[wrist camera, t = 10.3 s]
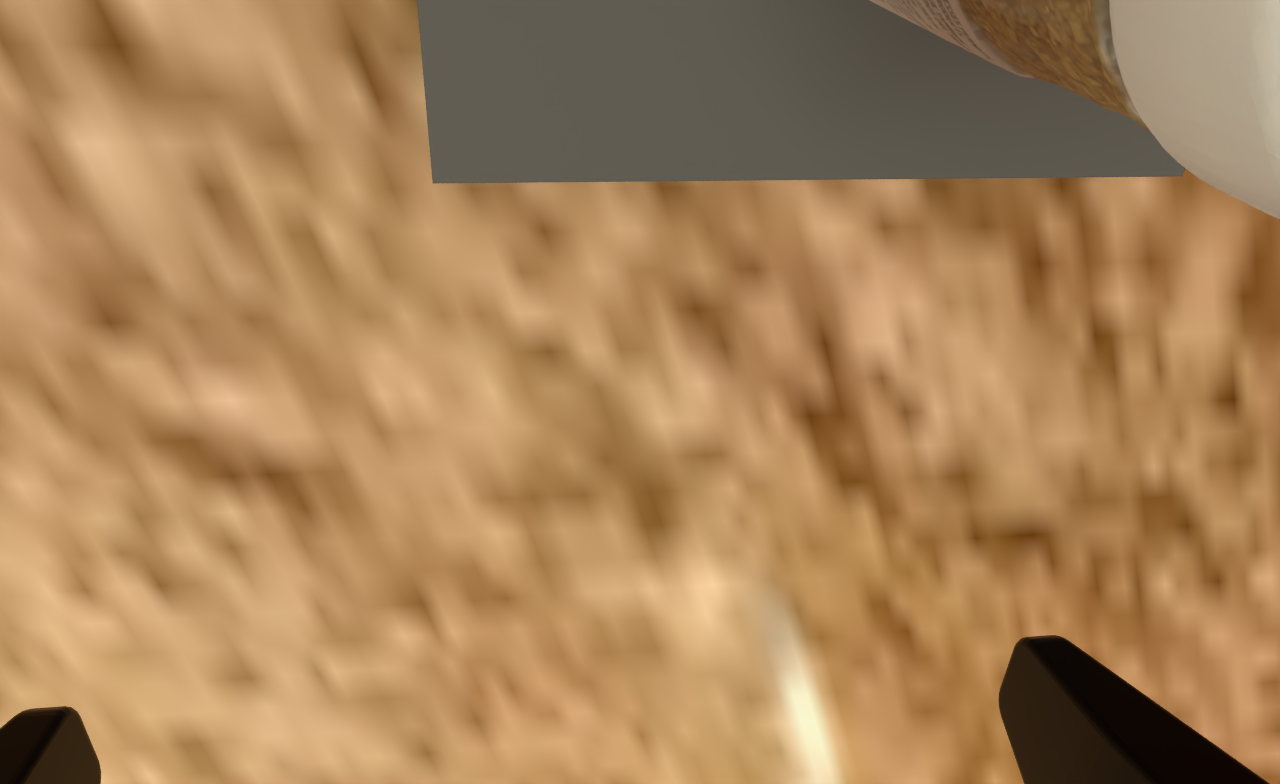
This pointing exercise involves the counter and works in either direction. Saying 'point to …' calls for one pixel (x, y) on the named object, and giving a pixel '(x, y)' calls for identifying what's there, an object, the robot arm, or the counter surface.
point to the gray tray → (743, 97)
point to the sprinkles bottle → (1146, 71)
